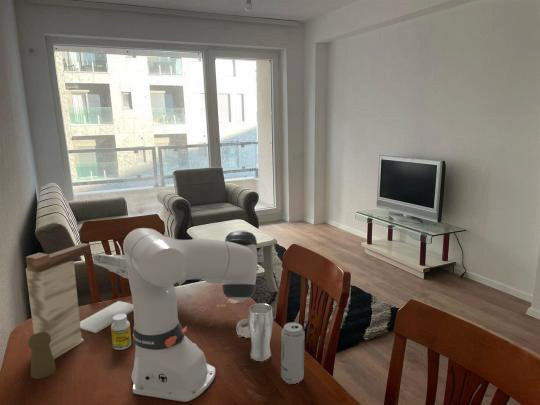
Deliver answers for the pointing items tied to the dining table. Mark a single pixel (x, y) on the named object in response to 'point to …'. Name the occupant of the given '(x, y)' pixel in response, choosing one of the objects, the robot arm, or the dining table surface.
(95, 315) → the mat
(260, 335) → the beer glass
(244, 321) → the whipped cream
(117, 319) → the supplement bottle
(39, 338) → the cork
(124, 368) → the dining table surface
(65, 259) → the mallet
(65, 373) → the dining table surface
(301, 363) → the energy drink can
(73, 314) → the stand
